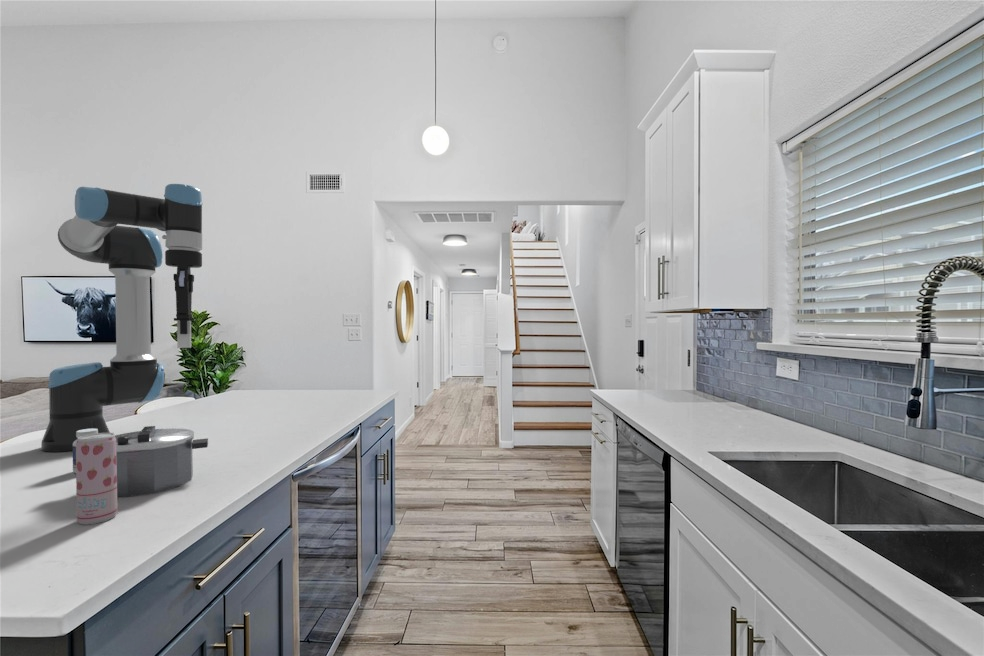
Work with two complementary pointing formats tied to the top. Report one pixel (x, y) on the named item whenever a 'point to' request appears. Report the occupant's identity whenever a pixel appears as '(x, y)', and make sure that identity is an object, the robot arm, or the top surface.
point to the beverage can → (96, 478)
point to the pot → (155, 469)
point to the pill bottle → (78, 434)
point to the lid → (151, 439)
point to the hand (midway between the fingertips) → (184, 347)
